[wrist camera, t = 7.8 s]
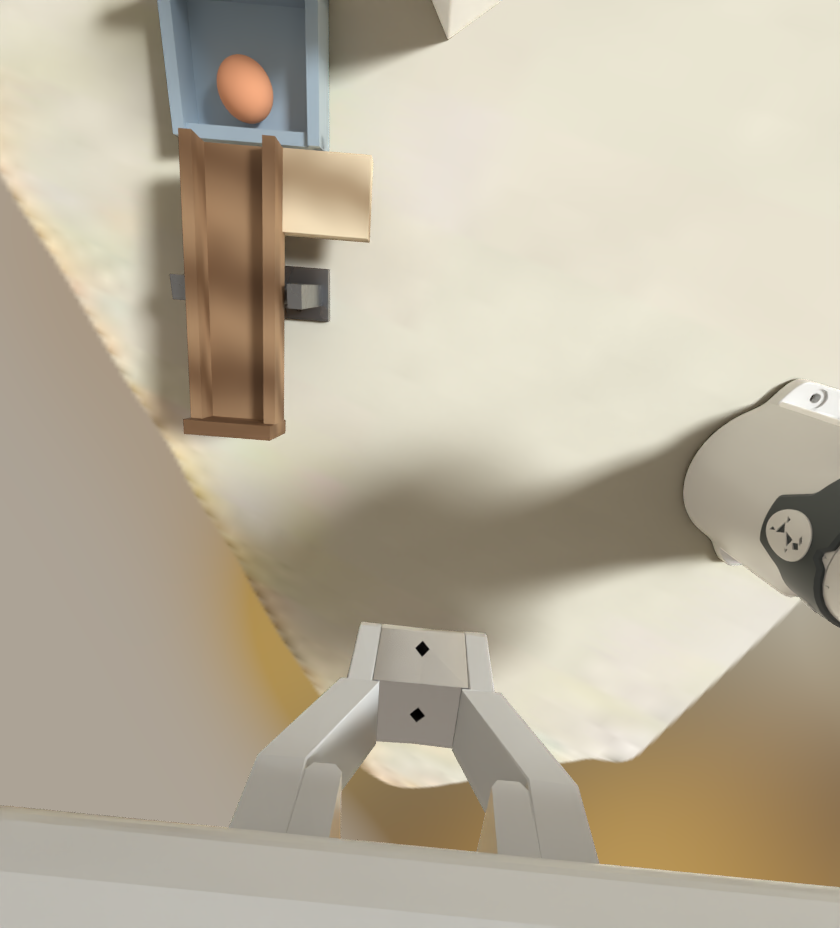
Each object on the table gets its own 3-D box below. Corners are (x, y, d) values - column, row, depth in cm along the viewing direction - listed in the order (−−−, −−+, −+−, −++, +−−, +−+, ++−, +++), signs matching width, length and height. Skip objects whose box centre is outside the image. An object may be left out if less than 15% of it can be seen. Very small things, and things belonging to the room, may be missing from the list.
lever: (361, 436, 34) (352, 447, 30) (211, 424, 34) (181, 433, 30) (374, 167, 30) (366, 135, 26) (202, 153, 30) (165, 118, 26)
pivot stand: (329, 321, 37) (309, 327, 30) (212, 311, 36) (168, 316, 30) (329, 269, 35) (307, 266, 29) (207, 259, 35) (159, 253, 29)
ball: (278, 66, 29) (259, 47, 26) (282, 130, 31) (265, 119, 28) (226, 62, 29) (202, 42, 26) (233, 126, 31) (211, 115, 28)
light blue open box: (328, -3, 29) (303, -73, 23) (329, 158, 32) (307, 131, 27) (178, -16, 29) (117, -89, 23) (195, 147, 32) (146, 118, 26)
